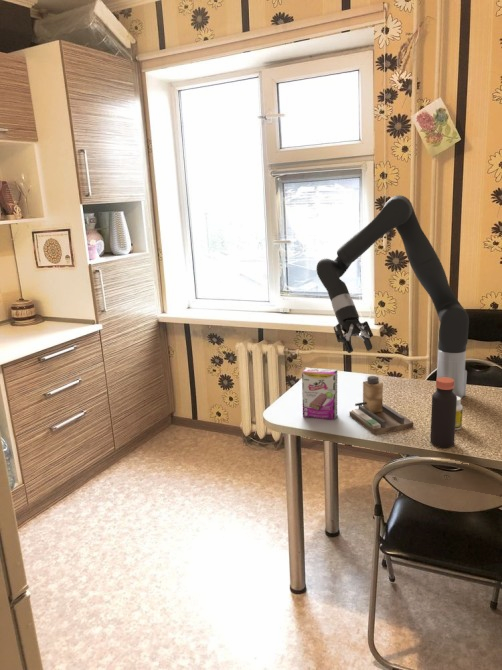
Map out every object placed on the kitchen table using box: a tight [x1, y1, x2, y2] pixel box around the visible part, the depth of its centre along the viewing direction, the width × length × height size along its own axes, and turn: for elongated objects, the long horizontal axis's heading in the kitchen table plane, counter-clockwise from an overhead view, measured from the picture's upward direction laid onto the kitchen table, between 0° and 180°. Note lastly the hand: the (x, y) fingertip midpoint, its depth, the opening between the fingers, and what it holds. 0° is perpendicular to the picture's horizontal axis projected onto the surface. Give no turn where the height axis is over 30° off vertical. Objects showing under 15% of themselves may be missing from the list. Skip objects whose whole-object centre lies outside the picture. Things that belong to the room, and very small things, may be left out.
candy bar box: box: [301, 367, 338, 421], centre depth 185 cm, size 11×5×16 cm, turn 71°
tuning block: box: [354, 375, 384, 413], centre depth 183 cm, size 9×4×12 cm, turn 109°
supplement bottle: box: [455, 396, 464, 431], centre depth 174 cm, size 5×5×10 cm
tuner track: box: [349, 404, 414, 436], centre depth 181 cm, size 14×16×4 cm
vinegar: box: [429, 377, 457, 449], centre depth 162 cm, size 7×7×20 cm
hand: (360, 350), depth 191 cm, fingers open, 8 cm apart
